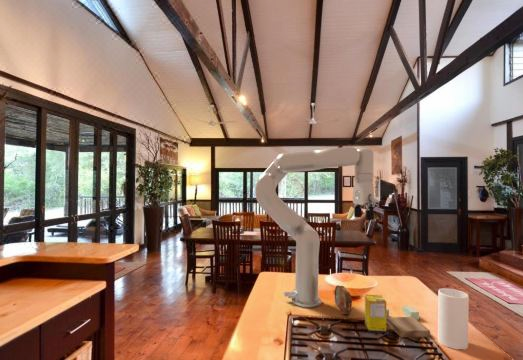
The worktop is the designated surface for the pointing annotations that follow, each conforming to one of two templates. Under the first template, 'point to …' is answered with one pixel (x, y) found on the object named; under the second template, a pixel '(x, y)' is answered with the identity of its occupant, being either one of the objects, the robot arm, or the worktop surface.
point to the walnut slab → (407, 327)
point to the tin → (343, 299)
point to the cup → (453, 318)
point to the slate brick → (387, 312)
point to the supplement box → (375, 313)
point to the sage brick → (410, 312)
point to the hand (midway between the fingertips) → (363, 218)
